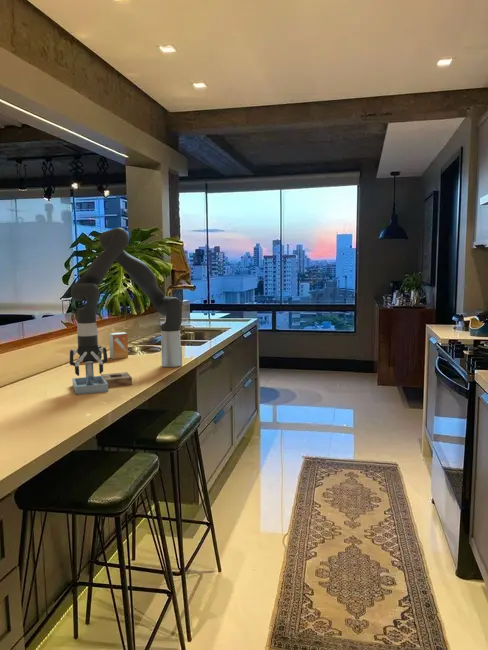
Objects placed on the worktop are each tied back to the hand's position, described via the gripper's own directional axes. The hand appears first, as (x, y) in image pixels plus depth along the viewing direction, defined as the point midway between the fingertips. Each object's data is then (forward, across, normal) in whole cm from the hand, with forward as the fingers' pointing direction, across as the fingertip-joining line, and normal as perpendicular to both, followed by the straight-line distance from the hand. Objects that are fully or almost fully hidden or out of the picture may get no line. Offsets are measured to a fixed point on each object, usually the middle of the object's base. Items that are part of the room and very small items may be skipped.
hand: (89, 374), depth 199 cm
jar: (+6, -7, -60) cm, 61 cm away
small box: (+6, -21, -62) cm, 66 cm away
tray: (+6, 0, 0) cm, 6 cm away
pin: (+5, 0, 0) cm, 5 cm away
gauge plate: (+6, -11, -5) cm, 13 cm away
